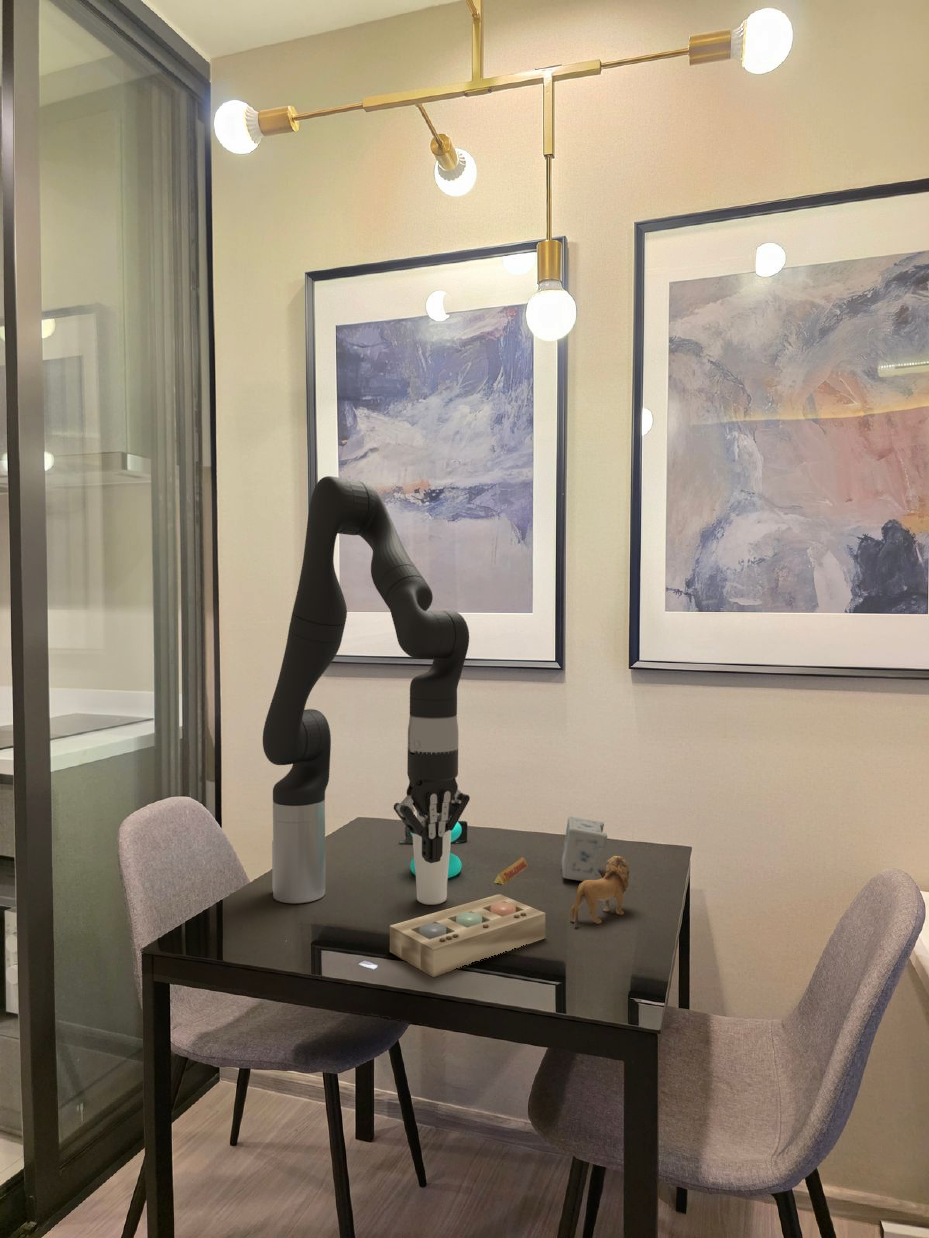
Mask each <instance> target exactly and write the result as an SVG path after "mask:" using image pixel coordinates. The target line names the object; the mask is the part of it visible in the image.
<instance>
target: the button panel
mask: <svg viewBox="0 0 929 1238" xmlns="http://www.w3.org/2000/svg"><path fill="white" fill-rule="evenodd" d="M500 902H506V903H511V904H513V905H515V906H516V913H512V914H509V915H506V916H503V917H501V916H499V915H497V914H494V913H492V912H491V905H492V904H494V903H500ZM467 912H472V913H477V914H480V915H481V916H482V923H480V924H477V925H474V926H471V927H468V928H466V927H464V926H462V925H460V924H458V923H456V916H457V915H458V914H461V913H467ZM428 923H438V924H442V925H444V926H445V927H446V934H445V935H442V936H439V937H436V938H433V939H428V938H426V937H424V936H422V935H420V934H419V928H420V926H422V925H424V924H428ZM545 939H546V912H543V911H541V910H539V909H537V908H534V907H532V906H529V905H527V904H524V903H523V902H519V901H518V900H514V899H512V898H510V897H507V896H505V895H503V894H501V893H498V894H494V895H492V896H488V897H485V898H481V899H478V900H473V901H471V902H467V903H464V904H460V905H457V906H453V907H450V908H447V909H443V910H439V911H436V912H433V913H428V914H425V915H422V916H419V917H415V918H412V919H408V920H405V921H401V922H398V923H395V924H390V925H389V953H391V954H393V955H395V956H396V957H398V958H400V959H401V960H403V961H404V962H406V961H407V963H408V964H409V965H412V966H413V967H415V968H417V969H418V968H419V970H420V971H421V972H424V973H425V972H426V973H425V974H427V975H429V976H431V977H432V978H435V977H438V976H441V975H444V974H447V973H449V972H453V971H455V970H454V969H456V968H458V969H461V968H463V967H462V966H464V965H467V966H470V965H472V964H471V963H472V962H475V961H479V962H481V961H482V960H481V959H484V958H487V959H490V958H492V957H491V956H493V957H495V956H494V955H496V956H498V954H499V955H501V954H504V953H506V952H505V951H507V952H509V951H512V949H513V950H515V949H514V948H516V949H518V948H522V947H524V946H527V945H529V944H530V945H531V944H533V943H535V942H538V941H542V940H545ZM526 944H527V945H526ZM523 945H524V946H523ZM521 946H522V947H521ZM503 952H504V953H503ZM500 953H501V954H500ZM489 957H490V958H489ZM480 960H481V961H480ZM484 960H485V959H484ZM469 964H470V965H469ZM460 967H461V968H460ZM464 967H465V966H464ZM452 970H453V971H452ZM456 970H457V969H456ZM446 972H447V973H446Z"/></svg>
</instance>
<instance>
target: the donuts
mask: <svg viewBox="0 0 929 1238" xmlns="http://www.w3.org/2000/svg"><path fill="white" fill-rule="evenodd" d="M461 832H462V828H461V825H460V824H459V823H458V822H457V823H456V825H455V827H454V829H453V830H451V842H452V841H454V840H456V839H457V838H458V837H459V836H460V834H461ZM410 833H411V832H410ZM411 835H412V837H413V833H411ZM410 861H411V862H410V865H409V868H410V870H411V873H412V874H414V876H416V874H415V862H414V857H413V858H412V860H410ZM462 866H463V865H462V861H461V860H460V858H459V856H457V855H456V854H454V853H452V852H450V856H449V867H448V879H451V878H453V877H455V876H457V875H458V874H459V873H460V872H461V870H462Z"/></svg>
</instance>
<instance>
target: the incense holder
mask: <svg viewBox="0 0 929 1238" xmlns="http://www.w3.org/2000/svg"><path fill="white" fill-rule="evenodd" d="M604 826H605V823H604V821H597V820H594V819H586V818H580V817H574V816H568V818H567V823H566V831H565V836H564V843H563V849H562V855H561V860H560V862H561V863H560V864H561V874H562V875H561V876H562V878H564V879H567V880H574V881H581V882H583V881H585V880H599V879H602V878H603V877H602V875H601V873H600V872H599V862H600V856H601V855H600V854H601V850H603V849H605V848H606V847H607V843H608V835H607V832H606V833H605V832H604V828H605V827H604Z"/></svg>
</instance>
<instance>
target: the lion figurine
mask: <svg viewBox="0 0 929 1238" xmlns="http://www.w3.org/2000/svg"><path fill="white" fill-rule="evenodd" d="M606 864H607V865H606V866H605V867H606V868H605V874H604V876H603V877H602V879H599V880H585V881H581V882H580V883H579V885H578V887H577V890H576V891H577V892H576V896H575V900H574V904H573V906H572V907H571V909H570V917H569V918H570V920H569V921H570V922H573V926H578V925H579V908H580V907H581V906H582V904H583V903H584V901H585V900H586V903H587V904H588V908H589V911H588V916H589V917H590V918H591V920H592V922H593V923H595V924H596V925H597V924H602V919H600V918H598V917H597V915H596V910H597V906H598V902H599V901H600V902H603V903H602V904H603V905H602V911H604V912H610V910H611V908H610V903H609V901H610V899H612V898H613V897H614V899H615V902H616V904H615V905H616V906H615V913H616V914H617V915H620V916H623V915H624V913H625V912H624V911H623V910H622V905H623V901H624V898H623V894H624V893H625V892H627V891H628V887H629V881H630V869H629V867H630V866H629V865H630V864H628V862H627V861H626V860H625V858H624V857H622V856H619V855H613V856H612V857H611V858H609V859H608V860H607V861H606Z"/></svg>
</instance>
